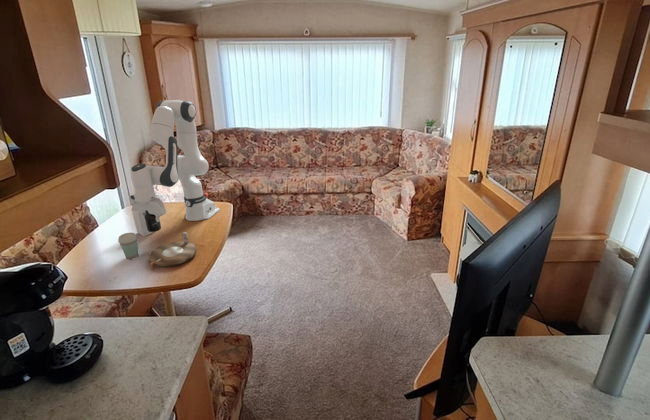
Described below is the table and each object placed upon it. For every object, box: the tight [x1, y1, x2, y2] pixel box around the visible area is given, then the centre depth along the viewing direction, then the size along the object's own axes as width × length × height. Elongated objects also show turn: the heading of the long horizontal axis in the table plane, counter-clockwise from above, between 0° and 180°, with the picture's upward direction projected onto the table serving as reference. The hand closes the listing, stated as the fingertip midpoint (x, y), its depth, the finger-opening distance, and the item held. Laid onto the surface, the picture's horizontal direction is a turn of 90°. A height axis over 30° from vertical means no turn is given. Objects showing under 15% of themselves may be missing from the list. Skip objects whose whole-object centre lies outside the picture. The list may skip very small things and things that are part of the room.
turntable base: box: [149, 261, 187, 271], centre depth 182 cm, size 22×18×4 cm
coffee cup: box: [117, 232, 140, 260], centre depth 183 cm, size 8×8×12 cm
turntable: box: [148, 231, 197, 267], centre depth 182 cm, size 22×22×8 cm
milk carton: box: [131, 207, 154, 237], centre depth 207 cm, size 7×7×19 cm
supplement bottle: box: [144, 210, 162, 233], centre depth 191 cm, size 7×7×12 cm
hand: (152, 220), depth 191 cm, fingers closed on supplement bottle, 6 cm apart
